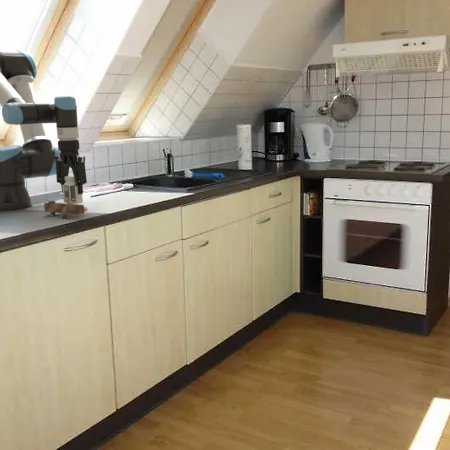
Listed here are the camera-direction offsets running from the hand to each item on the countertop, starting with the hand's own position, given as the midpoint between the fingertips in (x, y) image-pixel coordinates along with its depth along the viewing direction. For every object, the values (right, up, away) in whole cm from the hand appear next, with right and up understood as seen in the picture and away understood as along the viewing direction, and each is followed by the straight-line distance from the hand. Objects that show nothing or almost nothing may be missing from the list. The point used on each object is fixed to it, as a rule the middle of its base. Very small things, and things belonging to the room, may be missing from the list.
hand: (73, 202), depth 217 cm
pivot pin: (-5, -5, -8) cm, 10 cm away
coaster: (0, -3, +1) cm, 3 cm away
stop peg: (+1, -6, -14) cm, 16 cm away
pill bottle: (0, 0, 0) cm, 0 cm away
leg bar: (0, -4, -10) cm, 11 cm away
